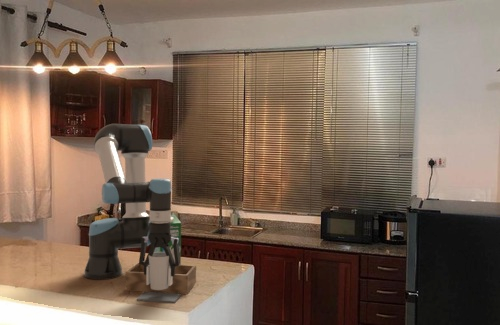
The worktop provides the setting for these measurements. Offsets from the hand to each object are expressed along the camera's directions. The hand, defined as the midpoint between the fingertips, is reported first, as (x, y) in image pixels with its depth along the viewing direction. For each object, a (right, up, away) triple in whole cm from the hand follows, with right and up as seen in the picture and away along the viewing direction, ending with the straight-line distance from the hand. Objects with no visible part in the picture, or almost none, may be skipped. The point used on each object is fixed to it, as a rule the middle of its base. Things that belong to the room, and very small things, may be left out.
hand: (159, 284), depth 161 cm
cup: (0, -1, 0) cm, 1 cm away
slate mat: (0, -5, 0) cm, 5 cm away
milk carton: (-3, -4, +31) cm, 31 cm away
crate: (-2, -5, +14) cm, 14 cm away
